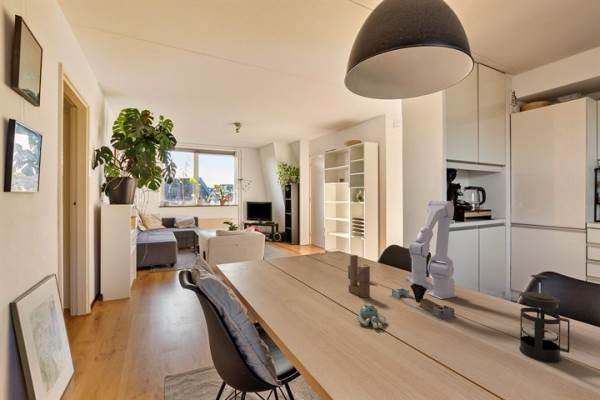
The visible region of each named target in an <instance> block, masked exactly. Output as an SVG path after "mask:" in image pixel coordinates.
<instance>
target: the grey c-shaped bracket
mask: <svg viewBox="0 0 600 400" xmlns="http://www.w3.org/2000/svg"><path fill="white" fill-rule="evenodd" d="M432 315H434V316H436V317H438V318H440V321H441V320H446V319H451V318H452V319H453V318H455V317H454V315H455V308H454V307H451V306H449V305H446V304H444V305H443V310H440V309H438V308H436V307H433V313H432Z"/></svg>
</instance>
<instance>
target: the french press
mask: <svg viewBox="0 0 600 400" xmlns="http://www.w3.org/2000/svg"><path fill="white" fill-rule="evenodd" d="M530 277H531V278H533V279H537V283H538V292H537V291H535V292H534V291H523V292H520V296H521V297H522V298H523V301H524V303H525V304H526V305H528V306H530V307H522V308H520V324H519V325H520V330H519V331H520V336H519V337H520V338H519V339H520V344H519V345H520V346H519V347H518V348H519V352H521V353H522V354H523V355H524V356H526V357H528V358H530V359H532V360H534V361H538V362H542V363H547V364H558V363H560V362H561V361H562V357H561V352H564V353H570V340H571V339H570V338H571V337H570V331H571V330H570V319H569V318H566V317H565V318H564V317H561V316H560V315H559V314H557V313H555V312H553V311H550V310H556V309H559V303H561V299H560V298H558V297H556V296H554V295H552V294H547V293H542V291H541V288H542V287H541V286H542V285H541V284H542V283H543V280H549V279H550V277H548V276H546V275H542V274H531V275H530ZM527 313H535V314H536V316H534V315H533V316H532V315H530V314H527ZM545 316H549V317H552V318H553V319H547V318H545ZM523 318H524V319H526V320H529V321H531V322H534V325H525V326H523ZM561 322H565V323H567V348H563V347H561ZM545 325H554V326H555V325H558V334H557V333H556V332H554V331H552V330H550V329H547V328H545ZM523 334H525V335H523ZM556 341H558V343H556Z"/></svg>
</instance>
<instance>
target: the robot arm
mask: <svg viewBox="0 0 600 400" xmlns="http://www.w3.org/2000/svg"><path fill="white" fill-rule="evenodd" d="M426 206H427V207H426V210H427V217H426V219H425V223H424V226H423V227H420V228H419V231H418V232H417V236H416V237H415V239H414V241H412V242H411V243H410V244H409V248H408V252H409V256H410V259H411V276H408V275H407V276H404V277H405V279H404V280H405V282H409V283H410V285H409V286H410V288H411V290H412V292H413V297H415V299H414V300H415V302H416V303H418V304H420V299H424V297H425V293H426V292H427V290H428V291H431V292H427V295H430V296H432V297H435V298H437V299H439V300H444V299H450V298H456V297H457V295H455V288H456V287H455V286H456V285H455V280H454V278H453V277H452V276H453V275H454V273H455V271H454V270H455V269H454V261H453V260H452V259H451V258H450V257H449V256H448V250H449V238H450V237H449V236H450V225H451V221H452V220H453V219H454V214H455V213H454V212H455V206H454V204H453V202H452V201H450V200H447V201H445V200H444V201H443V200H442V201H441V200H438V201H437V200H430V201H429V202H428V204H427V205H426ZM436 224H437V231H436V242H435V253H434V255H432V256H431V257H429V261H428V264H427V256H428V255H430V254H429V253H430V247H431V244H430V243H431V241H432V238H433V237H434V231H433V229H434V227H435V226H436ZM427 271H428V273H429V274H430V276H431V283H430V281H428V280H427Z"/></svg>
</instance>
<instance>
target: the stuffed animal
mask: <svg viewBox="0 0 600 400" xmlns="http://www.w3.org/2000/svg"><path fill="white" fill-rule="evenodd" d="M357 321H358V323H359V324H361V325H362V326H364V327H365V326H366V327H369V326H370V323H371V325H372V326H373V328H374V329H378V328H379V329H382V327H383V325H385V323H386V321H387V318H386V316H384V315H382V314H381V313H379V310H378V309H377V307H376V306H374V305H373V304H371V303H368V304H367V303H365V304H362V306H361V308H360V309H359V313H358V315H357Z"/></svg>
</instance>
